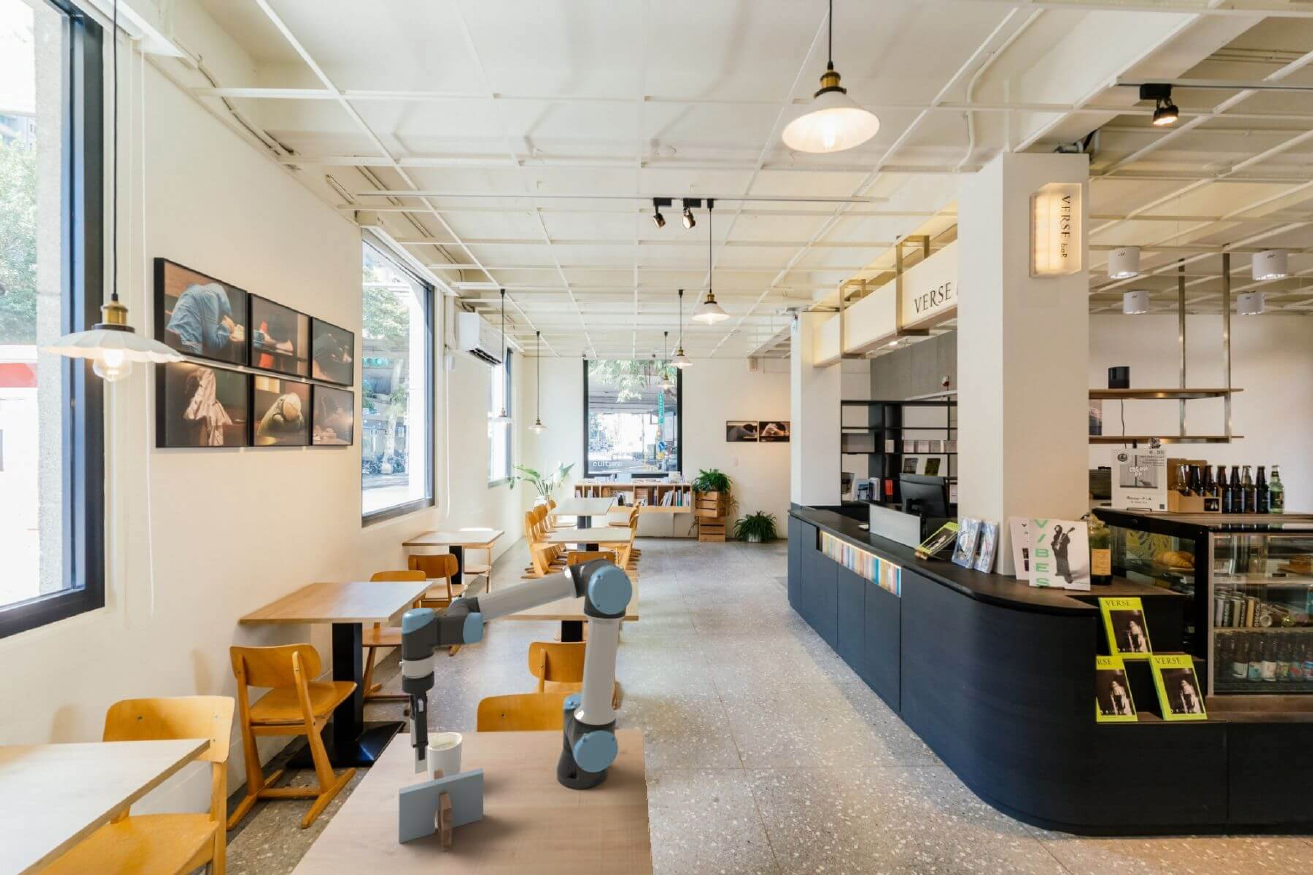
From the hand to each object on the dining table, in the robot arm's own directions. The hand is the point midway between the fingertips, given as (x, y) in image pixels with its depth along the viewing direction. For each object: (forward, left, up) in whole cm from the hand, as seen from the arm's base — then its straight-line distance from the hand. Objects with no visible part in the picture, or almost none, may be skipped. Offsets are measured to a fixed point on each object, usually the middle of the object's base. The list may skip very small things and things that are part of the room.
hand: (418, 757), depth 142 cm
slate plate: (-6, 0, -19) cm, 20 cm away
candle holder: (-9, -20, -19) cm, 29 cm away
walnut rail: (-6, 0, -19) cm, 20 cm away
